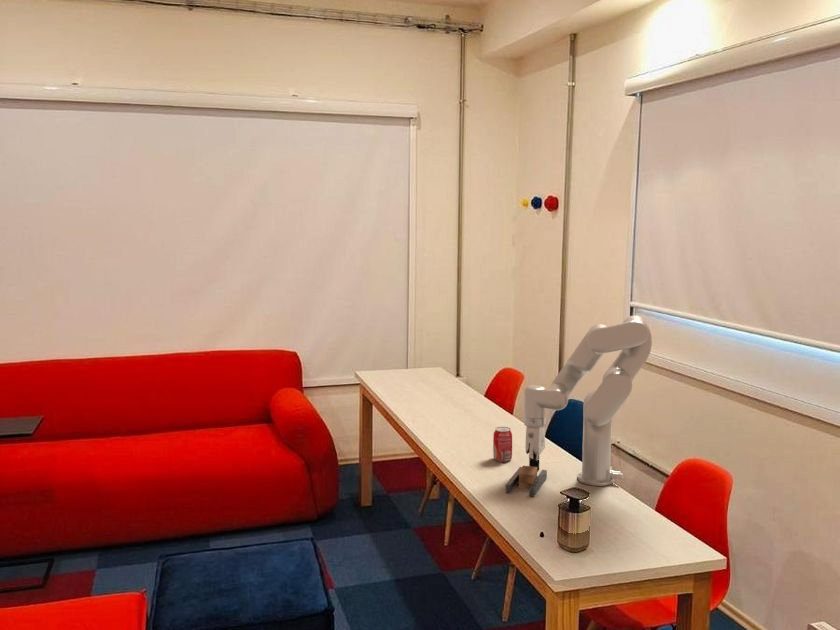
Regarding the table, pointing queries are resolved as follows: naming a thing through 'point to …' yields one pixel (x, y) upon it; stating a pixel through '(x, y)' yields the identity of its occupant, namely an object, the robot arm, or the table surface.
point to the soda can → (502, 444)
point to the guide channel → (534, 487)
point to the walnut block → (527, 476)
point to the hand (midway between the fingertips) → (534, 470)
